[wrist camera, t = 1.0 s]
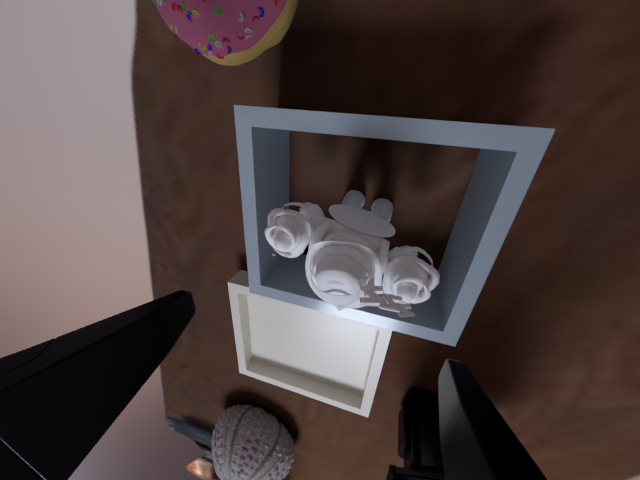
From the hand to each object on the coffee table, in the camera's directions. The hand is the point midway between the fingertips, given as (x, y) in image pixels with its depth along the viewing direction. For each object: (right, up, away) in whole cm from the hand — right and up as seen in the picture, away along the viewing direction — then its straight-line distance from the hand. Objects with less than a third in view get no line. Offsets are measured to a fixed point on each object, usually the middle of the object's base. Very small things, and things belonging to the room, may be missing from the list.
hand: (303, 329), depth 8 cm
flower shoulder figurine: (+4, +6, +11) cm, 13 cm away
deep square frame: (+4, +6, +11) cm, 13 cm away
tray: (-1, -8, +19) cm, 21 cm away
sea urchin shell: (-9, -27, +32) cm, 42 cm away
